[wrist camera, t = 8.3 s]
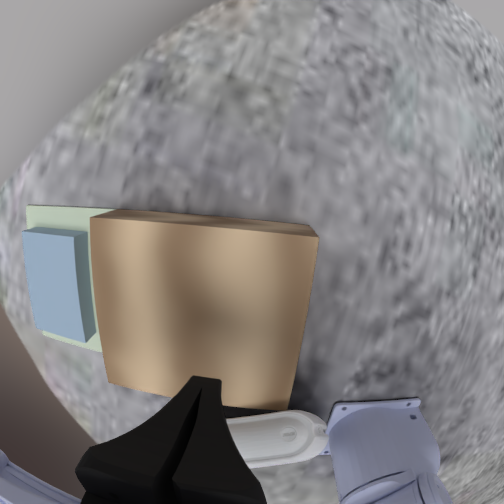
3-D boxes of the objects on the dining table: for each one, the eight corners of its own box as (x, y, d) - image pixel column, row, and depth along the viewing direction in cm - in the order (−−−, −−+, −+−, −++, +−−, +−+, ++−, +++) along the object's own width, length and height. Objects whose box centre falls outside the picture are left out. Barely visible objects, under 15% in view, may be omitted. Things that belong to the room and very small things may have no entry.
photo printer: (157, 469, 16) (334, 455, 15) (155, 417, 19) (323, 396, 18) (206, 470, 24) (330, 455, 23) (203, 433, 27) (323, 416, 26)
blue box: (21, 231, 19) (36, 226, 21) (36, 327, 21) (47, 319, 23) (73, 237, 19) (87, 231, 21) (85, 343, 21) (96, 332, 23)
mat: (117, 209, 21) (115, 209, 20) (126, 356, 24) (125, 358, 24) (28, 205, 21) (26, 205, 21) (44, 333, 24) (43, 335, 24)
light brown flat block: (309, 225, 20) (319, 237, 17) (284, 378, 24) (286, 410, 20) (117, 209, 21) (89, 217, 17) (126, 356, 24) (108, 382, 20)
